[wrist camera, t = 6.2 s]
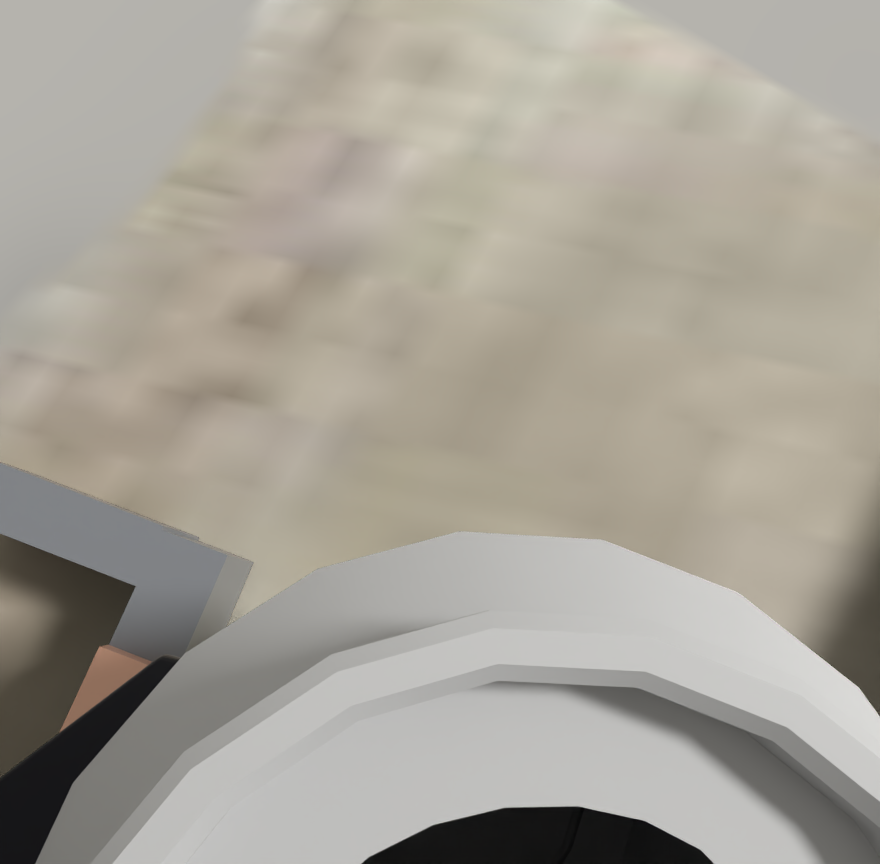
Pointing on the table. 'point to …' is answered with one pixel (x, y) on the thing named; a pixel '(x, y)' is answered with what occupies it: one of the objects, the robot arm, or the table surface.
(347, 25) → the table surface
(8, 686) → the table surface
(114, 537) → the comb rack
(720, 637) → the can
